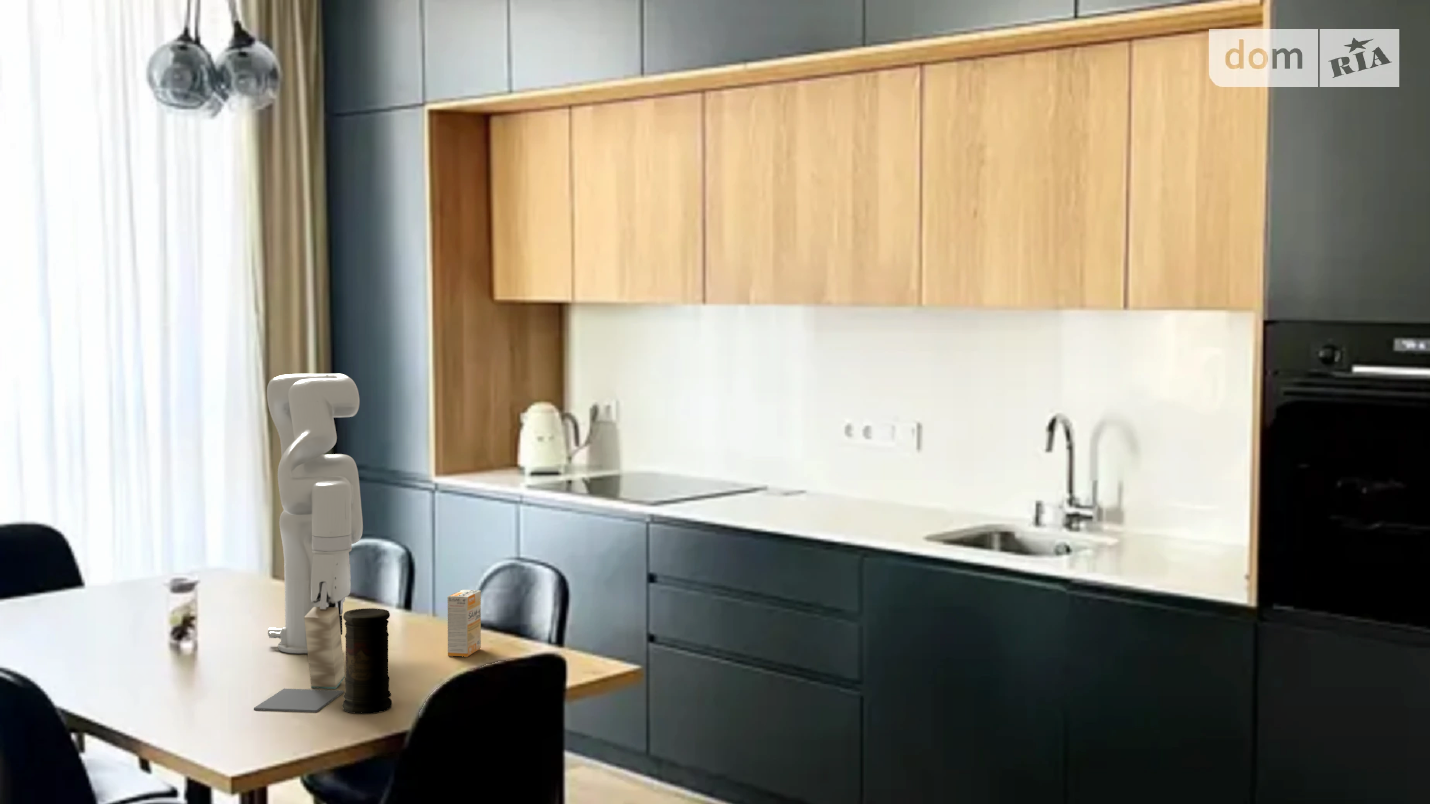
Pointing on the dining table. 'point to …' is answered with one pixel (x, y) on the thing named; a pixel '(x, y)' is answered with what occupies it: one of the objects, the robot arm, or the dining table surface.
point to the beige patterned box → (324, 648)
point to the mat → (299, 700)
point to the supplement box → (464, 622)
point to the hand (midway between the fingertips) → (333, 635)
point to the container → (366, 661)
